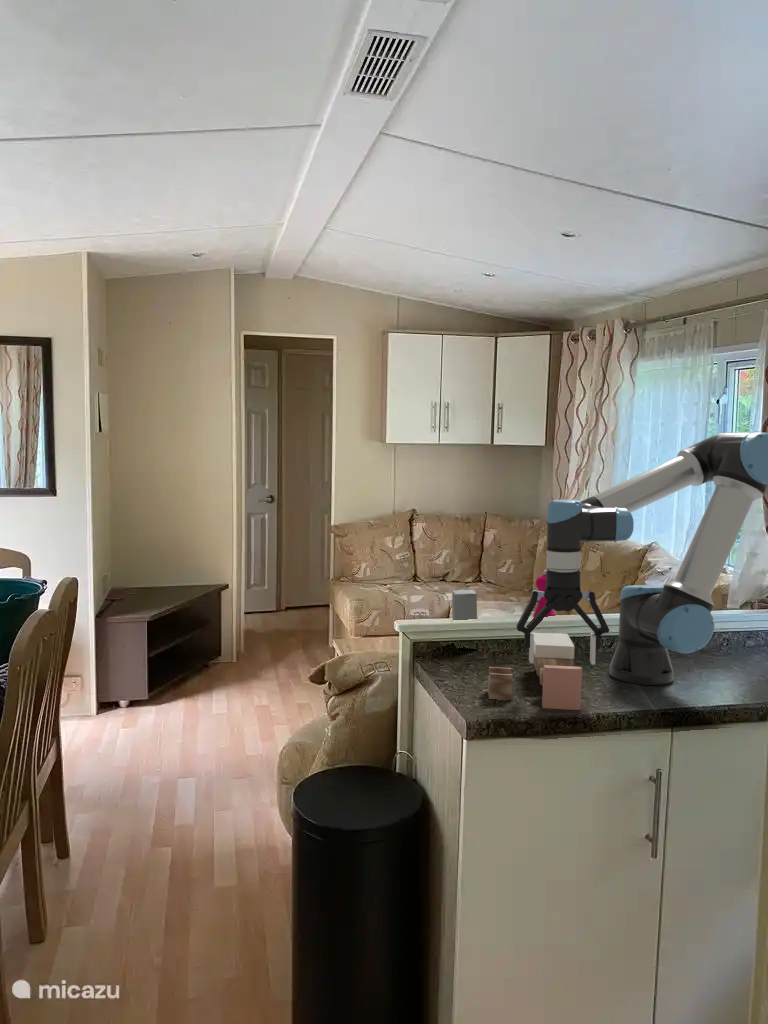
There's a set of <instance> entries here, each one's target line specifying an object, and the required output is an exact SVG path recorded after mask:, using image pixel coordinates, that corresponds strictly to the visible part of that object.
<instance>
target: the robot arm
mask: <svg viewBox="0 0 768 1024" xmlns="http://www.w3.org/2000/svg"><path fill="white" fill-rule="evenodd" d="M710 482H713V483H714V485H715V487H714V488H715V489H714V491H713V493H712V495H711V497H710V499H709V502H708V505H707V507H706V509H705V511H704V513H703V515H702V517H701V520H700V522H699V524H698V526H697V529H696V531H695V533H694V535H693V538H692V539H691V541H690V544H689V546H688V549H687V551H686V553H685V555H684V557H683V560H682V561H681V564H680V567H679V569H678V571H677V573H676V576H675V578H674V579H673V580H672V581H669V582H666V583H664V585H650V584H648V585H647V584H646V585H645V584H644V585H643V584H642V585H640V584H639V585H635V584H634V585H631V584H630V585H626V586H624V587H623V588H622V589H621V592H620V598H619V604H620V605H619V621H618V622H619V623H618V640H617V641H618V643H617V647H616V649H615V651H614V654H613V657H612V658H611V661H610V663H609V675H610V676H611V677H612V678H614V679H616V680H619V681H622V682H626V683H630V684H637V685H645V686H648V685H649V686H661V685H668V684H671V683H672V682H673V681H674V669H673V665H672V661H671V658H670V654H669V651H672V652H677V653H680V654H692V653H695V652H696V651H699V650H701V649H703V648H704V647H705V646H707V644H708V643H709V642H710V640H711V639H712V637H713V635H714V631H715V623H714V617H713V615H712V611H713V608H714V607H715V603H714V601H713V599H712V594H713V592H714V589H715V587H716V585H717V582H718V580H719V578H720V576H721V573H722V571H723V569H724V567H725V565H726V562H727V559H728V557H729V556H730V553H731V552H732V549H733V546H734V544H735V542H736V540H737V538H738V535H739V533H740V531H741V529H742V526H743V524H744V521H745V520H746V518H747V515H748V513H749V511H750V509H751V506H752V504H753V502H754V501H756V500H758V499H761V498H763V497H764V495H765V493H766V491H767V489H768V432H762V431H757V430H756V431H755V430H753V431H750V432H749V431H747V432H733V431H732V432H731V431H729V432H721V433H717V434H715V435H712V436H710V437H707V438H705V439H703V440H701V441H699V442H697V443H695V444H693V445H690V446H689V447H686V448H684V449H682V450H680V451H678V452H677V454H676V457H674V458H672V459H669V460H668V461H666V462H664V463H661V464H660V465H657V466H655V467H652V468H651V469H648V470H647V471H645V472H642V473H640V474H637V475H635V476H633V477H631V478H629V479H626V480H625V481H623V482H620V483H618V484H616V485H614V486H612V487H609V488H607V489H605V490H604V491H601V492H599V493H597V494H594V495H593V496H590V497H588V498H586V499H583V500H581V501H580V500H577V499H553V500H551V501H549V502H548V504H547V510H546V519H545V522H546V556H545V557H546V561H545V562H546V563H545V566H546V568H547V569H546V570H547V571H546V589H545V591H544V592H543V591H538V590H537V589H532V590H531V594H530V599H529V601H528V602H527V605H526V607H525V609H524V611H523V612H522V615H520V618H519V620H518V622H517V624H516V625H515V626H516V630H517V631H518V632H522V633H523V634H524V635H523V636H524V637H523V638H524V639H523V640H524V644H523V645H524V646H525V649H528V661H529V664H533V660H534V634H533V630H534V628H535V627H536V626H537V625H538V624H539V623H540V622H541V621H542V620H543V618H544V617H545V616H546V615H547V614H548V613H549V612H550V611H551V610H552V609H553V610H554V611H556V612H562V611H565V612H571V611H572V610H575V612H576V613H577V614H578V615H579V616H580V617H581V619H582V620H583V621H584V622H585V623H586V625H588V627H589V629H591V631H592V632H593V633H592V632H591V633H590V636H589V637H590V638H589V640H590V641H589V645H590V646H589V648H590V649H589V662H590V664H591V665H594V666H595V665H596V654H597V653H596V650H601V649H600V648H601V636H602V635H603V634H608V633H610V627H609V626H608V624H607V622H606V620H605V617H604V616H603V614H602V612H601V610H600V608H599V605H598V604H597V602H596V594H595V592H594V591H593V590H592V589H589V590H587V591H582V590H581V574H582V573H581V571H580V570H579V569H581V567H582V566H581V564H582V558H581V557H582V556H581V555H582V543H588V542H590V543H591V542H592V543H594V542H595V543H596V542H597V543H598V542H601V543H602V542H614V543H617V542H619V541H620V542H622V541H627V540H629V539H630V538H631V536H632V535H633V533H634V524H635V523H634V522H635V521H634V517H633V514H632V513H634V512H635V511H637V510H640V509H641V508H644V507H646V506H648V505H650V504H652V503H654V502H657V501H659V500H661V499H663V498H665V497H667V496H669V495H672V494H674V493H676V492H678V491H680V490H683V489H684V488H687V487H689V486H692V487H699V486H701V485H703V484H705V483H710ZM541 597H544V598H545V599H546V600H547V603H546V604H545V605H544V607H543V608H542V609H541V610H540V611H539V613H538V614H537V615H536V616H535V617H534V618H533V617H532V618H533V619H532V618H531V620H530V621H529V622H528V620H529V618H530V616H531V614H532V612H533V610H534V609H535V607H536V605H537V604H538V601H539V600H540V599H541ZM583 598H584V599H585V602H588V603H589V605H590V607H591V609H592V611H593V613H594V615H595V617H596V619H597V621H598V623H599V626H600V627H598V626H597V625H596V624H595V622H594V621H593V620H592V619H591V618H590V617H589V616H588V614H587V613H586V612H585V611H584V610H583V608H582V607H581V606H580V605H579V602H580V601H581V600H582V599H583ZM527 622H528V624H527V625H526V623H527Z"/></svg>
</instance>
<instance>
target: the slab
mask: <svg viewBox="0 0 768 1024" xmlns="http://www.w3.org/2000/svg"><path fill="white" fill-rule="evenodd" d="M532 632H533V631H532ZM533 634H534V655H535V657H539V658H559V659H570V660H575V649H576V648H575V645H574V643H573V641H572V640H571V638H570V636H569V634H568V633H555V632H554V633H537V632H533Z"/></svg>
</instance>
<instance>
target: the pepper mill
mask: <svg viewBox="0 0 768 1024" xmlns="http://www.w3.org/2000/svg"><path fill="white" fill-rule="evenodd" d="M547 570H548V569H544V570H543V571H542V573H543V574H542V575H539V576H538V577H537V578H536V580H535V586H536V588H537V589H538V590H537V591H543V592H544V591H545V589H546V571H547ZM546 603H547V600H546V599H545V598H544V597H541V599H540V600H539V601H537V606H536V609H535V611H534V612H533V616H532V618H533V617H535V616H536V615H537V614H538V613H539V611H540V610H541V609H542V608H543V607H544V605H545V604H546ZM548 616H556V613H555V610H554V609H552V610H551V611H550V612H549V613H548V614H547V615H546V616H545V617H548ZM556 617H557V616H556Z"/></svg>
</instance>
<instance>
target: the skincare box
mask: <svg viewBox="0 0 768 1024" xmlns="http://www.w3.org/2000/svg"><path fill="white" fill-rule="evenodd" d="M451 593H452V595H451V596H452V599H451V600H452V601H451V602H452V604H451V605H452V606H451V607H452V613H451V614H452V621H453V620H468V619H477V620H478V604H477V603H478V602H477V601H478V597H477V596H478V595H477V593H476V590H474V589H453V590H452V592H451Z"/></svg>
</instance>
